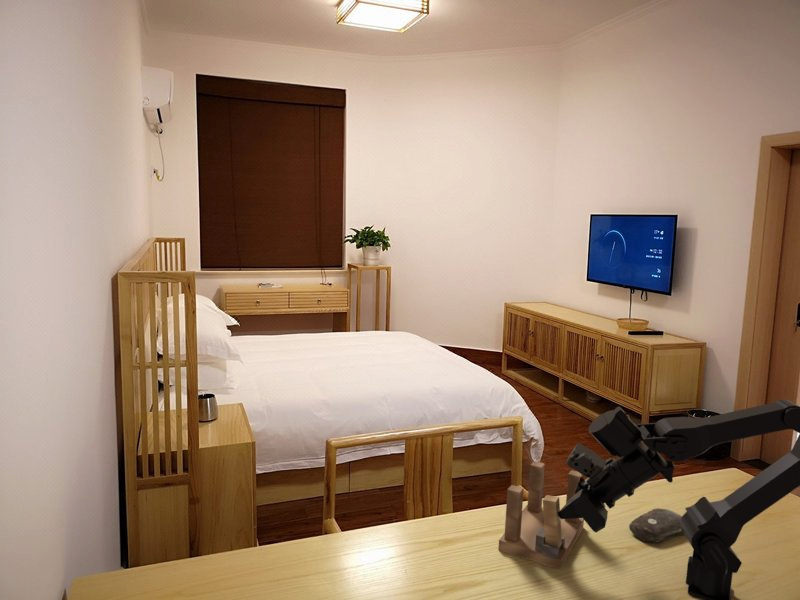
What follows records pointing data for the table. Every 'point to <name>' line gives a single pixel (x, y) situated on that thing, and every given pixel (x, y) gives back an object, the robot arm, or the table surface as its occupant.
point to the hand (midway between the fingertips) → (559, 515)
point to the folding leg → (552, 520)
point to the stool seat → (537, 522)
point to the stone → (657, 525)
